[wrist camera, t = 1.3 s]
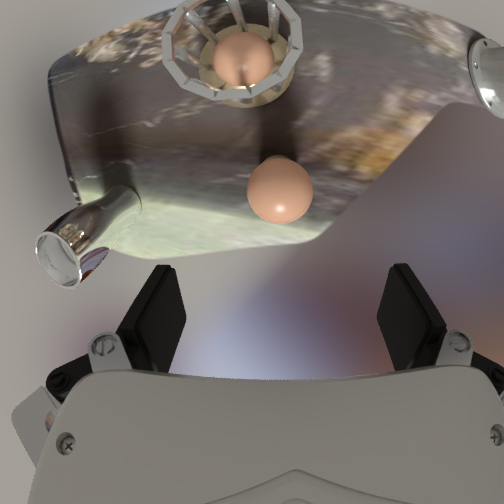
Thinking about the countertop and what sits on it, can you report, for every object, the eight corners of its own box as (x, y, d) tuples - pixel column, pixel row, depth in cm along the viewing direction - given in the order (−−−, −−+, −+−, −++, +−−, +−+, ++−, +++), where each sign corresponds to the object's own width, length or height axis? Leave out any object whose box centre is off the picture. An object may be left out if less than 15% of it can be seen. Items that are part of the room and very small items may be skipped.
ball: (272, 38, 22) (272, 22, 17) (275, 87, 25) (276, 81, 20) (216, 42, 22) (203, 28, 17) (219, 91, 25) (206, 86, 20)
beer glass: (139, 178, 32) (68, 227, 19) (148, 227, 35) (92, 294, 22) (98, 184, 32) (25, 231, 19) (109, 229, 36) (48, 289, 23)
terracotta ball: (308, 153, 25) (318, 165, 20) (307, 209, 28) (315, 234, 23) (248, 154, 26) (241, 166, 20) (250, 210, 28) (245, 235, 23)
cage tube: (291, 25, 21) (302, -23, 10) (296, 106, 26) (312, 104, 15) (198, 31, 22) (156, -6, 11) (203, 111, 27) (160, 114, 16)
